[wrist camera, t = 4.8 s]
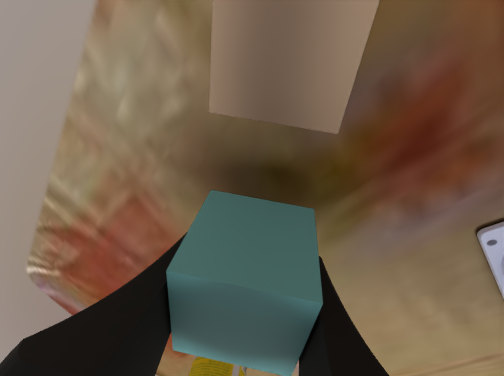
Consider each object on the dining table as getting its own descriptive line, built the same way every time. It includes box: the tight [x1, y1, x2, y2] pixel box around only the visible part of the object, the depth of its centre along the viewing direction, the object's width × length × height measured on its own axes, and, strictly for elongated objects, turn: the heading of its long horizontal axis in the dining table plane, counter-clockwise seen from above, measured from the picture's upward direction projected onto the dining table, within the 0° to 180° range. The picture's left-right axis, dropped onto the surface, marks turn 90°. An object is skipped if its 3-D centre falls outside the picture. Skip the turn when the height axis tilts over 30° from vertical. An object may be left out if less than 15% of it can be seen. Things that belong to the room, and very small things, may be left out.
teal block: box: [166, 190, 323, 376], centre depth 11 cm, size 5×5×5 cm
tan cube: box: [209, 0, 380, 134], centre depth 11 cm, size 5×5×5 cm
